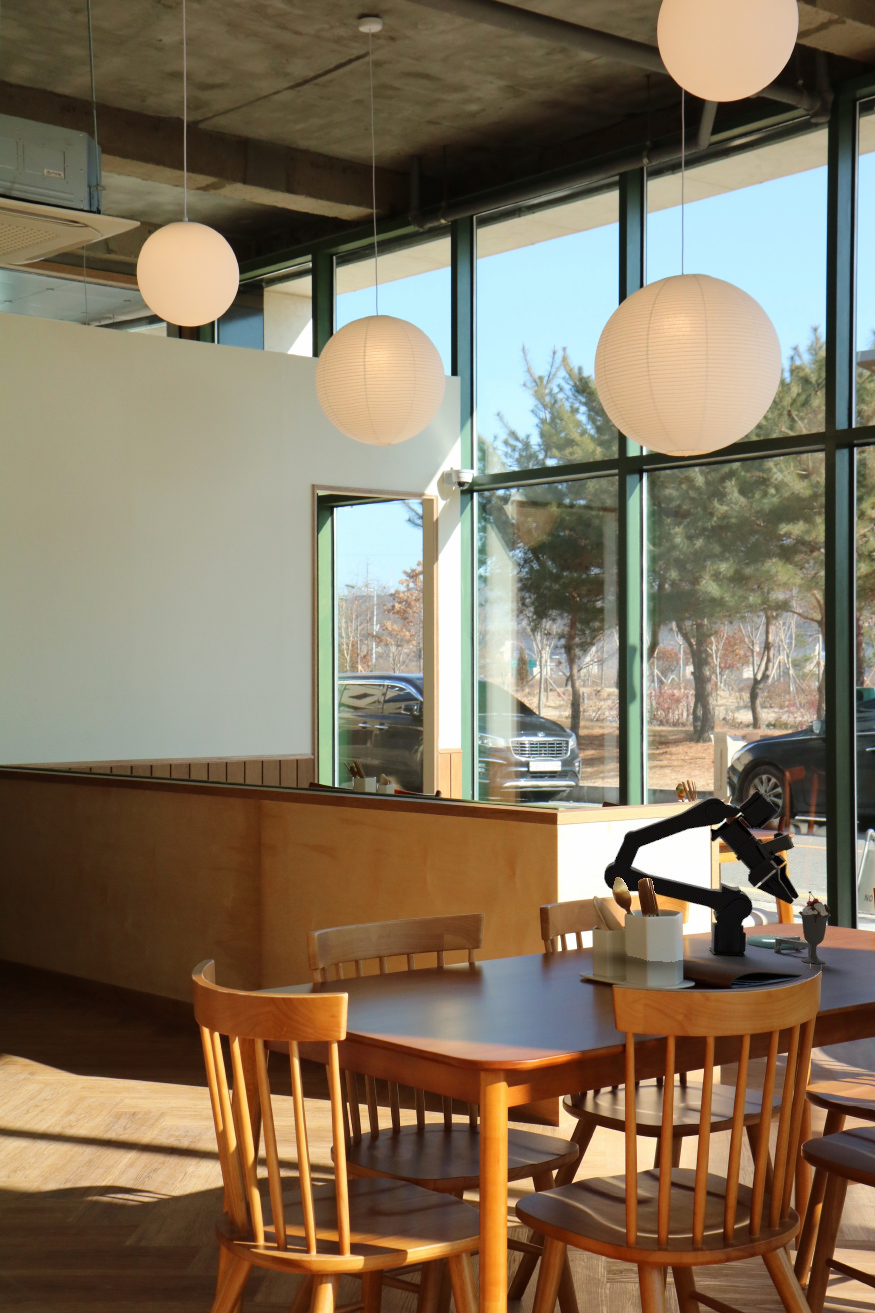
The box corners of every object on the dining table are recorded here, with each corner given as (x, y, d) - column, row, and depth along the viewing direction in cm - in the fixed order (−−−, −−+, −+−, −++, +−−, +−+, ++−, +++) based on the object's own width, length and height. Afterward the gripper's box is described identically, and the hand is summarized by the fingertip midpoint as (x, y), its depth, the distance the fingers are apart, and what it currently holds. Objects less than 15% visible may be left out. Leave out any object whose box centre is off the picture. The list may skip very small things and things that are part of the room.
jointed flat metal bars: (780, 956, 284) (781, 942, 285) (770, 948, 294) (770, 934, 295) (815, 958, 284) (815, 943, 284) (803, 950, 294) (804, 936, 294)
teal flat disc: (753, 948, 294) (753, 943, 294) (741, 938, 307) (741, 933, 307) (812, 950, 294) (812, 946, 294) (797, 940, 307) (797, 936, 307)
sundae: (796, 963, 277) (798, 891, 278) (797, 958, 284) (799, 887, 284) (829, 966, 275) (831, 893, 276) (829, 961, 282) (831, 890, 282)
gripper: (765, 822, 276) (819, 880, 271) (777, 817, 293) (827, 871, 288) (726, 857, 278) (778, 915, 274) (739, 850, 296) (789, 904, 291)
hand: (794, 900), depth 282 cm, fingers open, 9 cm apart
